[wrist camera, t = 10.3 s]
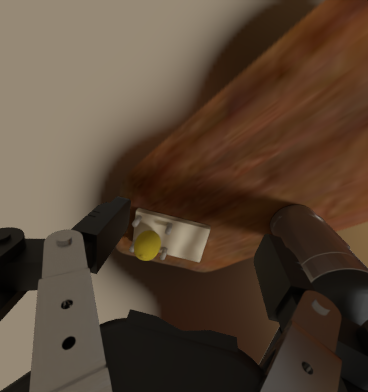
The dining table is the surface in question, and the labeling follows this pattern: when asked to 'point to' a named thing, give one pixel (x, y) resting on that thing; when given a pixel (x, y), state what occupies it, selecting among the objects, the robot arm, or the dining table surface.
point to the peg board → (172, 234)
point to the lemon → (147, 245)
